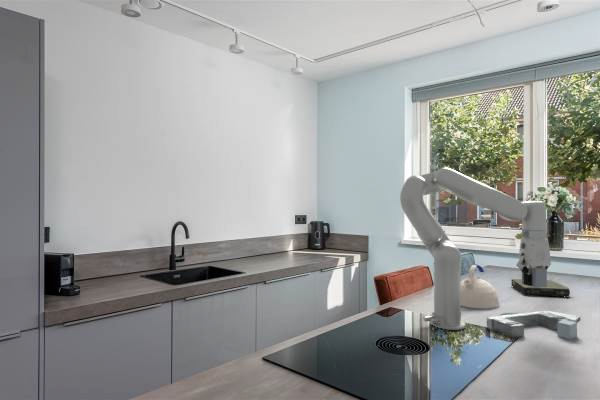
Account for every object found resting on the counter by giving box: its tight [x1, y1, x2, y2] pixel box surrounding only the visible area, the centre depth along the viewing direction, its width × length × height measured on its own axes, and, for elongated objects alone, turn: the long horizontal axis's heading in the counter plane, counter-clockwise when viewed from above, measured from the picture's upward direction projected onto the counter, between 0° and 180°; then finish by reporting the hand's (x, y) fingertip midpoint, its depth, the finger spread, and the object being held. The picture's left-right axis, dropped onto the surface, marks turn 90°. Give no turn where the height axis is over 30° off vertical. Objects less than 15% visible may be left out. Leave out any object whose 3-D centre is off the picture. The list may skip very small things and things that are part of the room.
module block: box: [521, 267, 548, 288], centre depth 142 cm, size 5×6×7 cm
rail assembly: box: [486, 310, 571, 339], centre depth 144 cm, size 28×11×4 cm, turn 107°
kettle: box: [460, 264, 500, 310], centre depth 182 cm, size 20×21×18 cm
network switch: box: [511, 278, 571, 298], centre depth 204 cm, size 23×24×5 cm
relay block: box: [556, 320, 578, 340], centre depth 136 cm, size 5×4×5 cm
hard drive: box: [544, 310, 581, 323], centre depth 159 cm, size 2×8×12 cm
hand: (534, 284), depth 142 cm, fingers closed on module block, 5 cm apart
